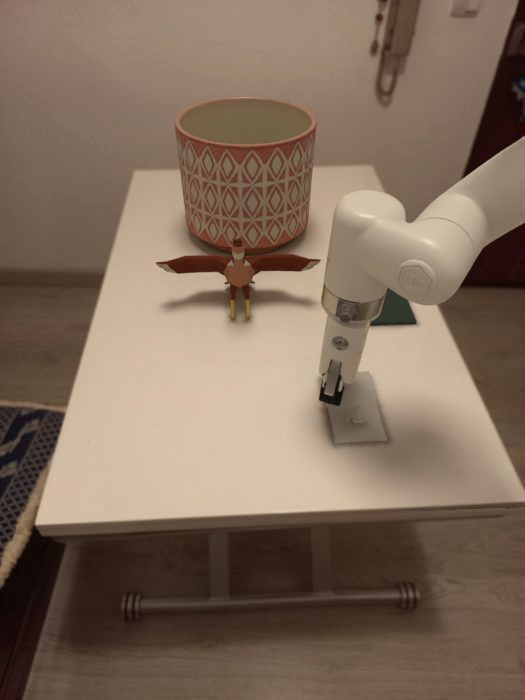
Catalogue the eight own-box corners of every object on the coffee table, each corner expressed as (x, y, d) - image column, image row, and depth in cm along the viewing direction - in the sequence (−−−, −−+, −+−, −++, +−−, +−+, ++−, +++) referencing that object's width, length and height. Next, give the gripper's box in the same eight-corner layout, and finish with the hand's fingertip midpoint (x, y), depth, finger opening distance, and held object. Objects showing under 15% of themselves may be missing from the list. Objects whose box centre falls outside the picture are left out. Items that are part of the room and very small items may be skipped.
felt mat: (391, 266, 95) (392, 263, 95) (416, 324, 83) (417, 321, 82) (334, 267, 95) (334, 264, 95) (349, 325, 82) (350, 323, 82)
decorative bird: (152, 334, 75) (143, 240, 69) (169, 303, 92) (162, 225, 86) (326, 330, 76) (330, 237, 70) (310, 300, 93) (313, 223, 87)
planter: (297, 269, 94) (306, 152, 78) (170, 253, 98) (152, 138, 82) (314, 206, 113) (324, 101, 97) (207, 194, 117) (199, 91, 101)
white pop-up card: (367, 376, 74) (370, 365, 72) (387, 440, 65) (391, 429, 63) (321, 379, 73) (323, 368, 72) (335, 443, 65) (337, 432, 63)
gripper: (372, 348, 50) (346, 442, 63) (392, 264, 61) (367, 359, 74) (305, 331, 52) (293, 427, 65) (337, 252, 63) (321, 347, 76)
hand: (333, 389), depth 69 cm, fingers closed on white pop-up card, 3 cm apart
